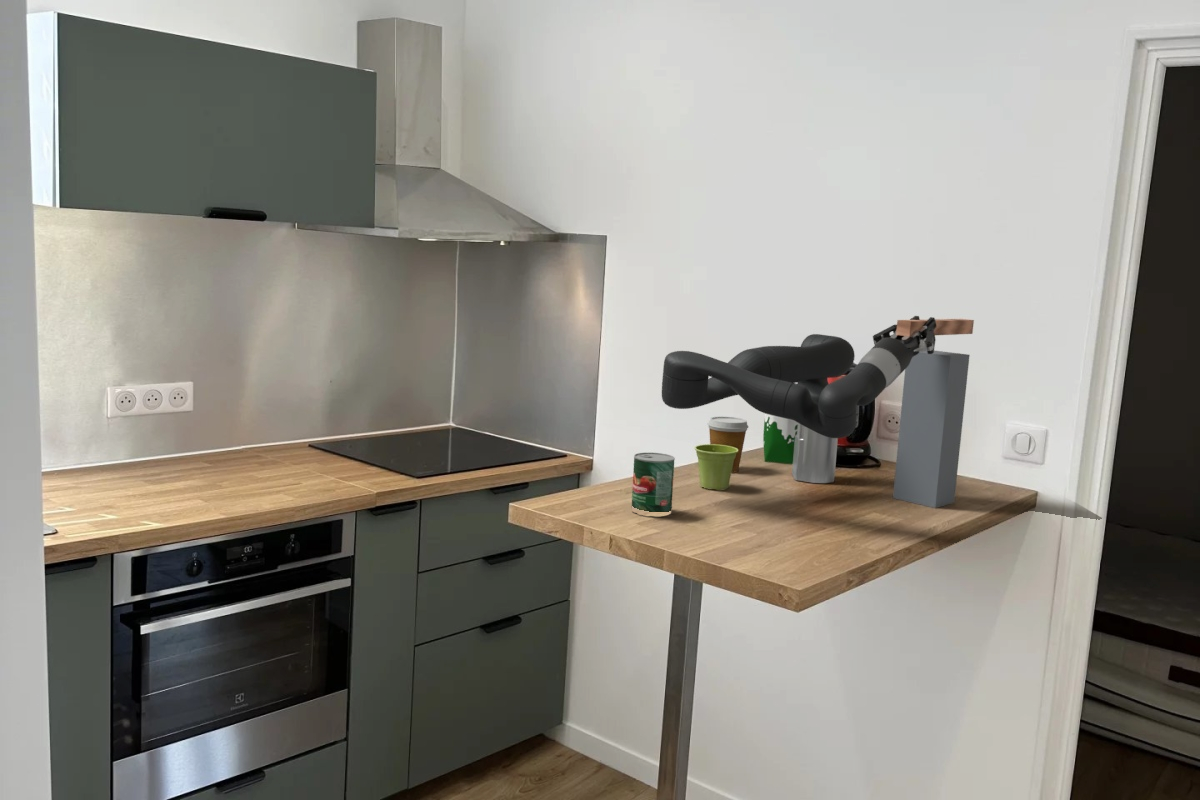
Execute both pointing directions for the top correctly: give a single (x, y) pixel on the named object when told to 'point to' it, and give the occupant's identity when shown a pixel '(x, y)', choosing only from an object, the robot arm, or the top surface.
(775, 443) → the milk carton
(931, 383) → the pedestal
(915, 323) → the batten
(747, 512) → the top surface
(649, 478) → the canned tomato
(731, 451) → the plant pot
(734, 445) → the disposable coffee cup
